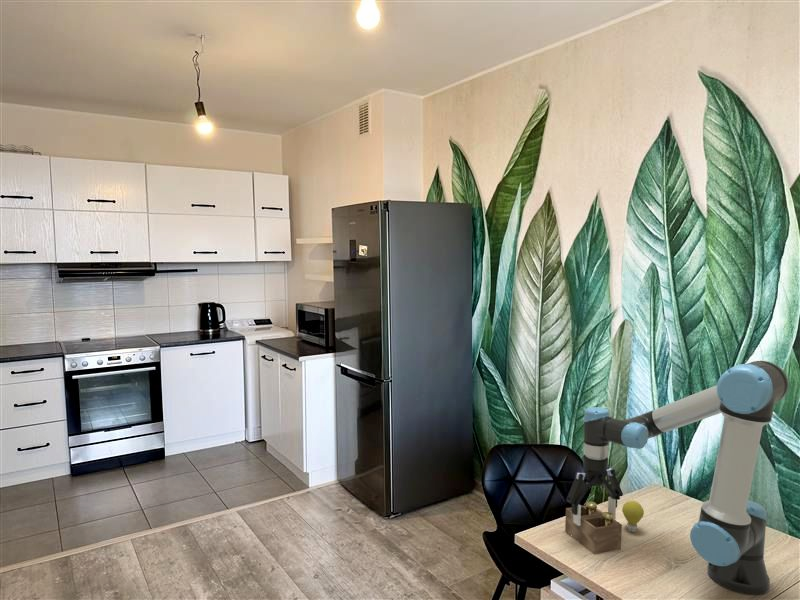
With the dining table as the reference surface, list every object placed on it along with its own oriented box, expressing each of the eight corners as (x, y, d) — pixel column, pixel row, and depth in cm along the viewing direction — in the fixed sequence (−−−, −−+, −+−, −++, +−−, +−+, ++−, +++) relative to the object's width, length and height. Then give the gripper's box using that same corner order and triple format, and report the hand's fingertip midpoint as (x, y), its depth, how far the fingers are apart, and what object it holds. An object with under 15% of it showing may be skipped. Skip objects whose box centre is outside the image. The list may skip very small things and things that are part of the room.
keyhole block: (620, 549, 175) (622, 524, 174) (594, 554, 172) (595, 528, 171) (589, 527, 189) (590, 504, 188) (565, 531, 186) (565, 508, 185)
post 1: (597, 534, 184) (599, 505, 183) (589, 536, 183) (590, 506, 182) (591, 530, 187) (592, 501, 186) (582, 531, 186) (584, 502, 185)
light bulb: (639, 537, 183) (641, 507, 182) (618, 531, 187) (620, 502, 186) (645, 529, 188) (646, 501, 187) (624, 523, 192) (625, 495, 192)
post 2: (614, 546, 176) (616, 515, 176) (605, 548, 175) (607, 517, 175) (607, 541, 180) (608, 511, 179) (598, 543, 178) (600, 512, 178)
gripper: (618, 448, 186) (617, 510, 187) (555, 456, 178) (554, 521, 179) (635, 455, 179) (634, 520, 180) (570, 464, 171) (569, 531, 172)
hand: (594, 520), depth 179 cm, fingers open, 13 cm apart
